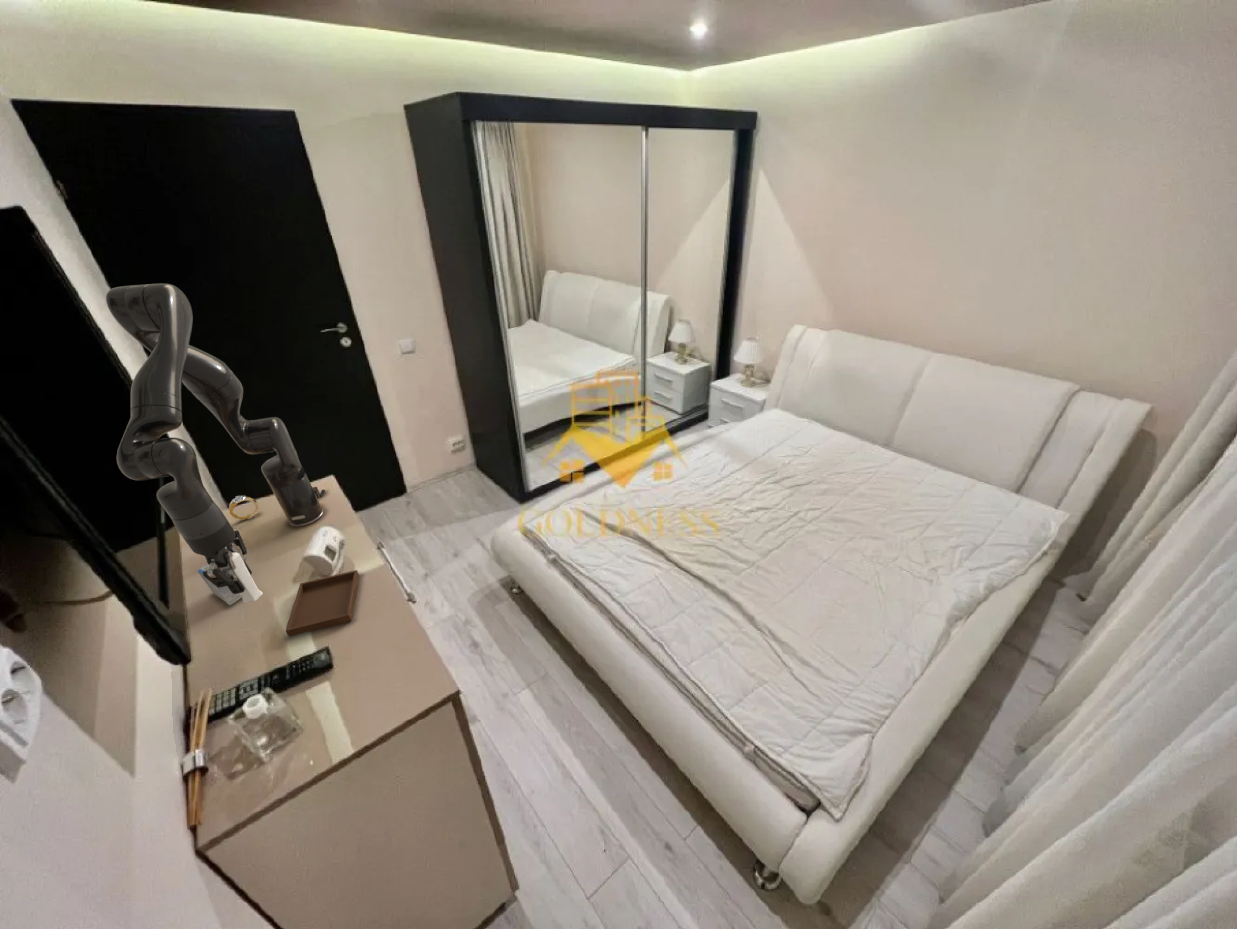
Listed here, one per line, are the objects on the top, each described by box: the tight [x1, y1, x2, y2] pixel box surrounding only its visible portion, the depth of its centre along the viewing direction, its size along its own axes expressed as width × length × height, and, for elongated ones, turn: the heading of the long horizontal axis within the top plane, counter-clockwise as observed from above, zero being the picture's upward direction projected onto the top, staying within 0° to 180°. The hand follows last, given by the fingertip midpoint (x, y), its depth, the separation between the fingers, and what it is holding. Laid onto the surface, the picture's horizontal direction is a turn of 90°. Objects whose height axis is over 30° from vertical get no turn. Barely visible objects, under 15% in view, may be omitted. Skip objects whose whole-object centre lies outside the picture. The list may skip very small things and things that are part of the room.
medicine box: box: [197, 563, 242, 606], centre depth 118 cm, size 8×4×9 cm, turn 59°
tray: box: [284, 569, 360, 638], centre depth 116 cm, size 15×13×2 cm
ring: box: [228, 494, 259, 520], centre depth 144 cm, size 7×3×8 cm, turn 125°
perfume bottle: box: [219, 547, 264, 604], centre depth 105 cm, size 5×4×15 cm
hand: (243, 583), depth 107 cm, fingers closed on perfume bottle, 4 cm apart
